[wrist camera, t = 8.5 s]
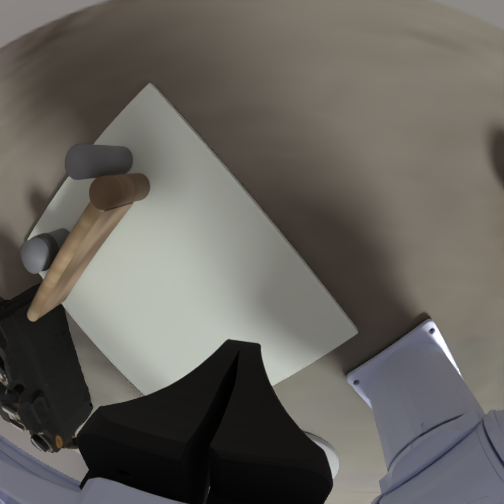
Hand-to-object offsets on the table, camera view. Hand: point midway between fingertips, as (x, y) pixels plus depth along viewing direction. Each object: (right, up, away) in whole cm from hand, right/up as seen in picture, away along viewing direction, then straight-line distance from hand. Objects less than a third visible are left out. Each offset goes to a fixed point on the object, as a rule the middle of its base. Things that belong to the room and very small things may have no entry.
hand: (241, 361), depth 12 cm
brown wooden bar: (-11, +5, +9) cm, 15 cm away
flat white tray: (-6, +2, +10) cm, 12 cm away
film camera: (-21, -6, +14) cm, 26 cm away
